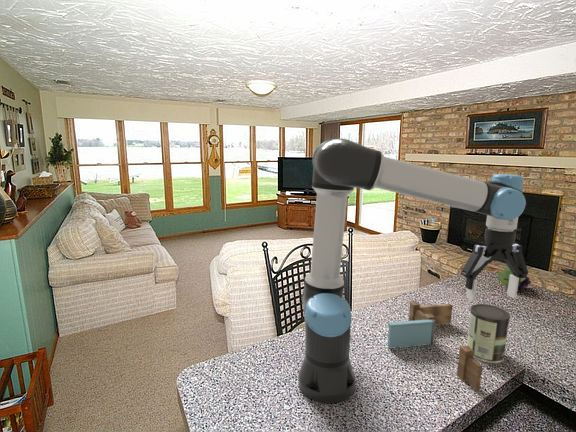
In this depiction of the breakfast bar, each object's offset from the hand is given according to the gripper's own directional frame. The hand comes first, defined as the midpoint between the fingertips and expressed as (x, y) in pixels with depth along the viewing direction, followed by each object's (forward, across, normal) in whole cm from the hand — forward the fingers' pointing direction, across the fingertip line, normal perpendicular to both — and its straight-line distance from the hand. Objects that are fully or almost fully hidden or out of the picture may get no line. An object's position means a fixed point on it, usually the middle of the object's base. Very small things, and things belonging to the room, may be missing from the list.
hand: (490, 297), depth 101 cm
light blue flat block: (+18, -20, +7) cm, 28 cm away
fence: (+18, -7, +2) cm, 20 cm away
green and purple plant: (+18, +48, +42) cm, 66 cm away
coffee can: (+19, 0, 0) cm, 19 cm away
